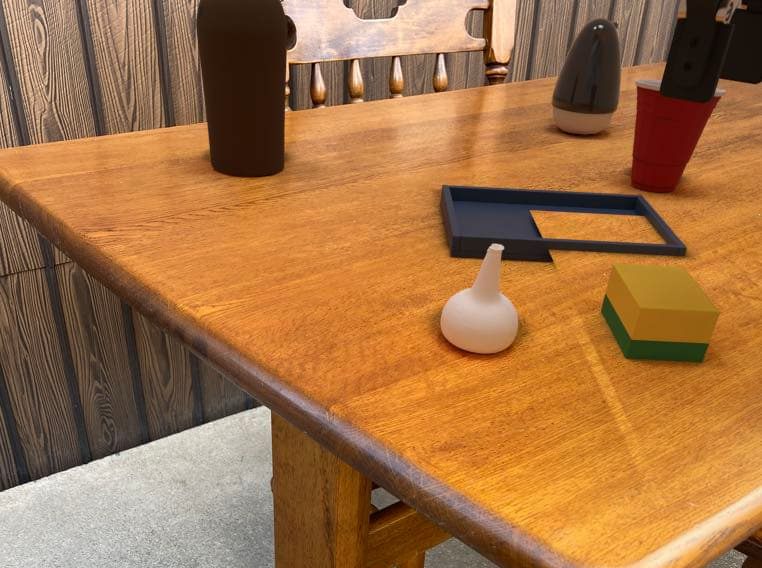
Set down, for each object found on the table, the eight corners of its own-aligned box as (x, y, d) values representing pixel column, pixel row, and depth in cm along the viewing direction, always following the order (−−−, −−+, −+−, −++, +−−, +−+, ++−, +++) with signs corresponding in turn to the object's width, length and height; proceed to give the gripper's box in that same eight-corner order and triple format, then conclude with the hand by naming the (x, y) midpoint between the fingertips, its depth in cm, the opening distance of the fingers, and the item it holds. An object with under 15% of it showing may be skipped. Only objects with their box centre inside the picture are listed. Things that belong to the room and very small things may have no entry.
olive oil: (256, 183, 96) (246, -76, 80) (189, 168, 100) (167, -83, 84) (305, 165, 103) (305, -76, 87) (240, 151, 107) (229, -82, 91)
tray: (637, 213, 93) (642, 194, 92) (681, 268, 80) (687, 247, 78) (440, 203, 93) (442, 184, 92) (450, 256, 79) (453, 235, 78)
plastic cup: (701, 183, 105) (733, 81, 97) (688, 203, 97) (721, 94, 89) (620, 169, 108) (645, 69, 100) (602, 188, 101) (626, 82, 93)
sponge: (597, 324, 68) (612, 262, 65) (665, 327, 68) (684, 266, 65) (621, 373, 61) (640, 307, 58) (697, 377, 61) (721, 311, 58)
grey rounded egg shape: (622, 132, 125) (649, 19, 116) (592, 143, 119) (618, 24, 109) (566, 120, 130) (587, 11, 121) (534, 130, 124) (554, 15, 114)
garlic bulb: (472, 318, 68) (486, 224, 63) (530, 343, 65) (549, 246, 60) (423, 338, 65) (433, 240, 59) (481, 366, 61) (497, 265, 56)
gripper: (867, -338, 32) (724, 119, 43) (938, -271, 43) (809, 83, 54) (691, -324, 36) (600, 97, 47) (798, -265, 47) (703, 67, 57)
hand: (712, 89), depth 50 cm, fingers open, 9 cm apart
